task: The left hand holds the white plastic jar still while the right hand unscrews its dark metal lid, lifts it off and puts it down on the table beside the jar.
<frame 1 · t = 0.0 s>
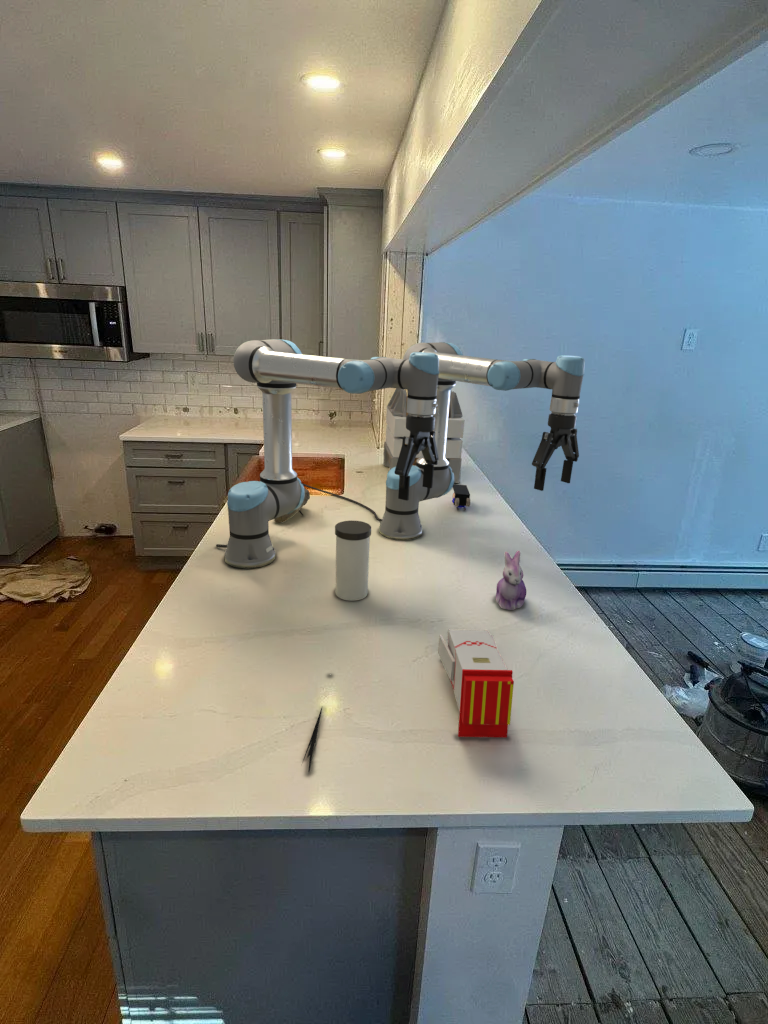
left hand: (415, 493, 153), 28 cm above the counter, tool pointing down, fingers open, 13 cm apart
right hand: (552, 485, 166), 28 cm above the counter, tool pointing down, fingers open, 13 cm apart
figurine character: (459, 506, 231), on the counter
jar: (351, 592, 157), on the counter
light grey slatted crate: (419, 473, 275), on the counter
fossil: (292, 515, 213), on the counter
figurine: (510, 603, 156), on the counter
feather: (319, 719, 109), on the counter
toy: (469, 691, 119), on the counter
lid: (353, 528, 151), point 19 cm above the counter, screwed on, not yet turned
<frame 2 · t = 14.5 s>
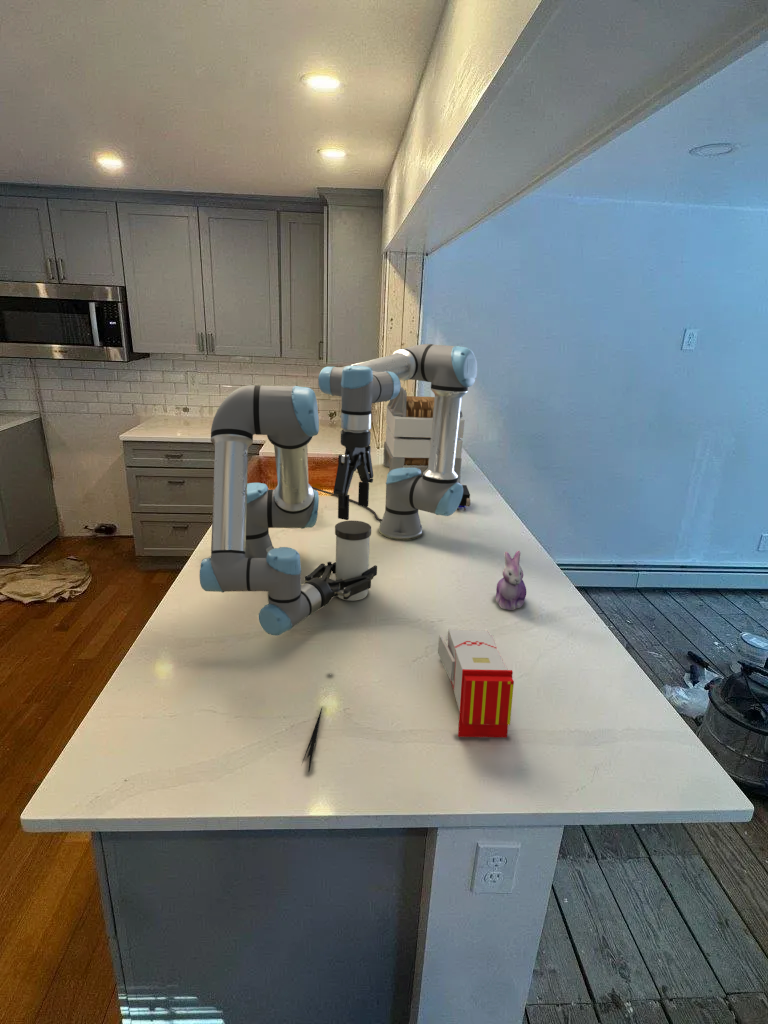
left hand: (361, 565, 159), 7 cm above the counter, tool horizontal, fingers closed on jar, 9 cm apart
right hand: (353, 512, 149), 24 cm above the counter, tool pointing down, fingers open, 11 cm apart
jar: (351, 592, 157), on the counter, touching left hand
everything else where it was.
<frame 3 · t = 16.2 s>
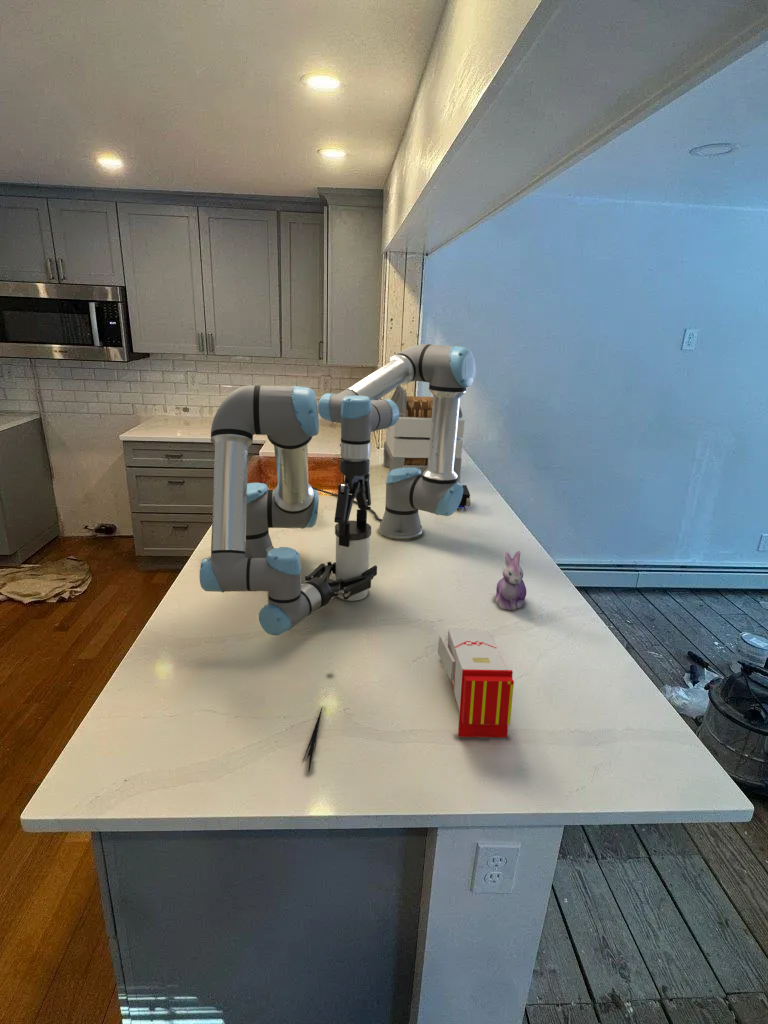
left hand: (361, 565, 159), 7 cm above the counter, tool horizontal, fingers closed on jar, 9 cm apart
right hand: (352, 539, 152), 16 cm above the counter, tool pointing down, fingers closed on lid, 10 cm apart
jar: (351, 592, 157), on the counter, touching left hand
lid: (353, 528, 151), point 19 cm above the counter, screwed on, not yet turned, touching right hand
everything else where it was.
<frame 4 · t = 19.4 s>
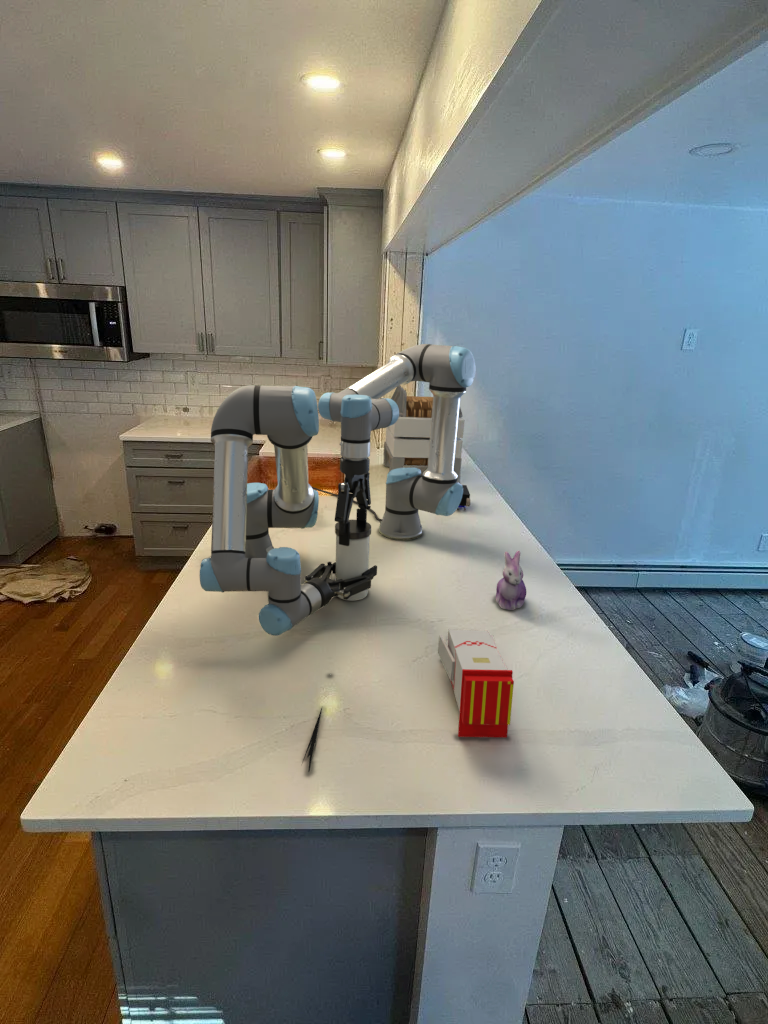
left hand: (361, 565, 159), 7 cm above the counter, tool horizontal, fingers closed on jar, 9 cm apart
right hand: (352, 538, 152), 16 cm above the counter, tool pointing down, fingers closed on lid, 10 cm apart
jar: (351, 592, 157), on the counter, touching left hand
lid: (353, 527, 151), point 20 cm above the counter, turned 101° so far, risen 0.3 cm, still on its thread, touching right hand
everything else where it was.
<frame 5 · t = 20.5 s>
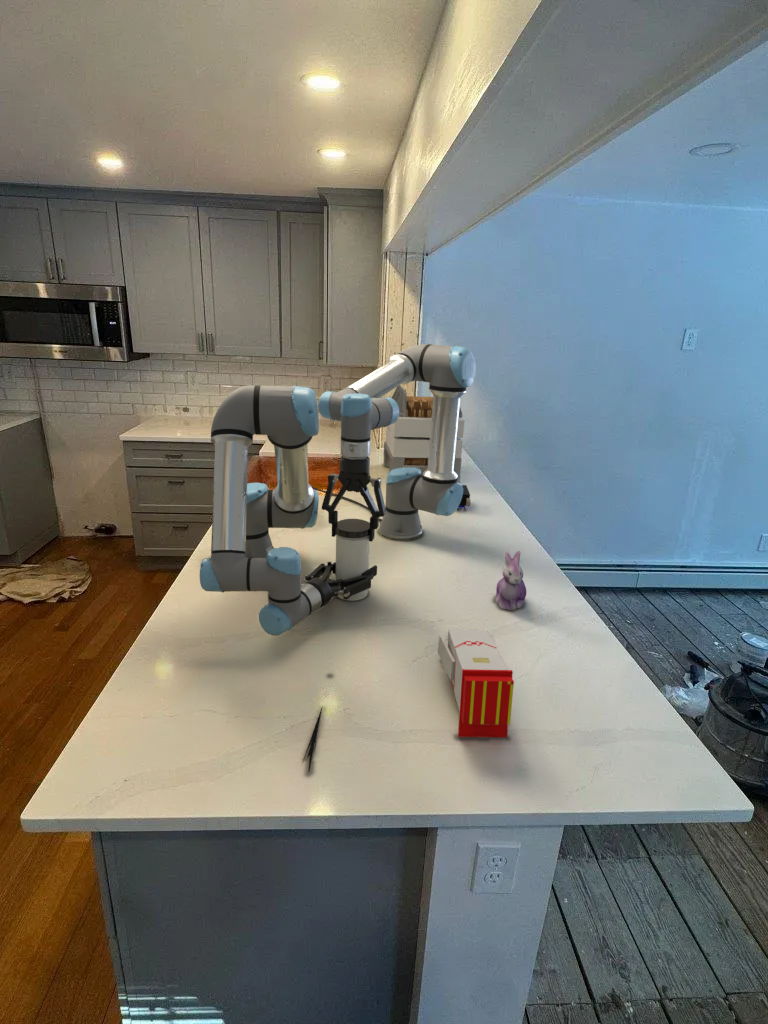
left hand: (361, 565, 159), 7 cm above the counter, tool horizontal, fingers closed on jar, 9 cm apart
right hand: (353, 537, 152), 17 cm above the counter, tool pointing down, fingers closed on lid, 10 cm apart
jar: (351, 592, 157), on the counter, touching left hand
lid: (353, 526, 151), point 20 cm above the counter, off its thread, touching right hand
everything else where it was.
when the right hand's fingers open (0 cm above the counter, at t = 26.7 s): lid drops 2 cm, point 1 cm above the counter.
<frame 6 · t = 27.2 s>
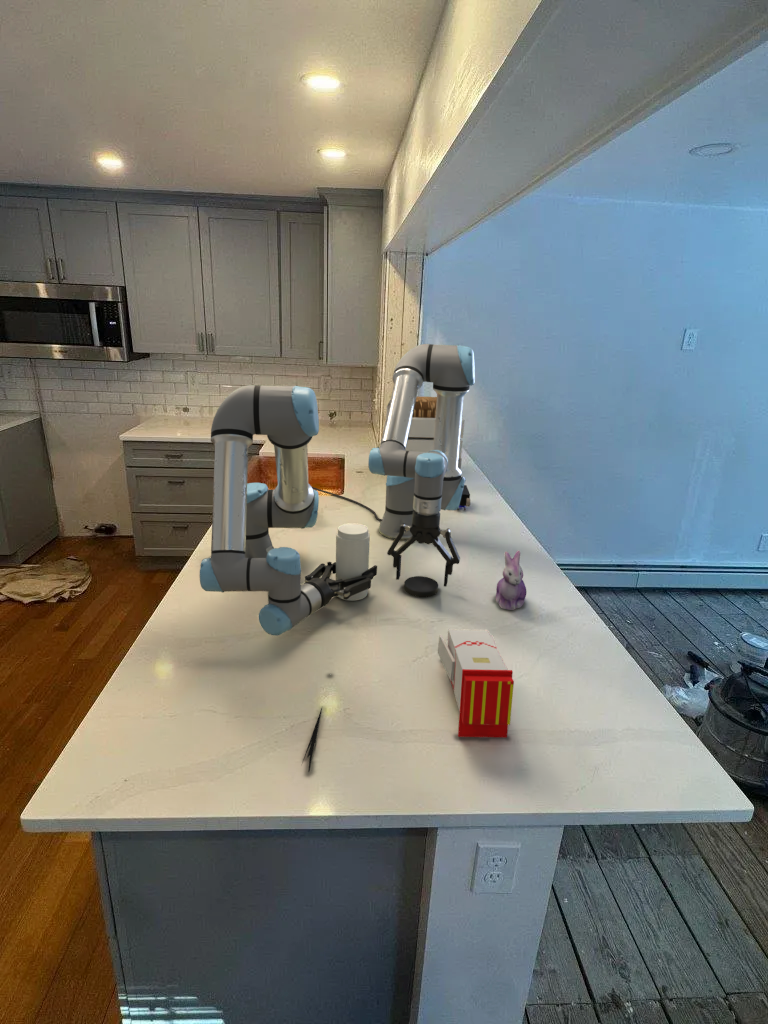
left hand: (361, 565, 159), 7 cm above the counter, tool horizontal, fingers closed on jar, 9 cm apart
right hand: (421, 580, 161), 2 cm above the counter, tool pointing down, fingers open, 13 cm apart
jar: (351, 592, 157), on the counter, touching left hand
lid: (421, 584, 160), point 1 cm above the counter, off its thread
everything else where it was.
when the left hand's fingers open (7 cm above the counter, at t = 27.7 s): jar stays where it is, on the counter.
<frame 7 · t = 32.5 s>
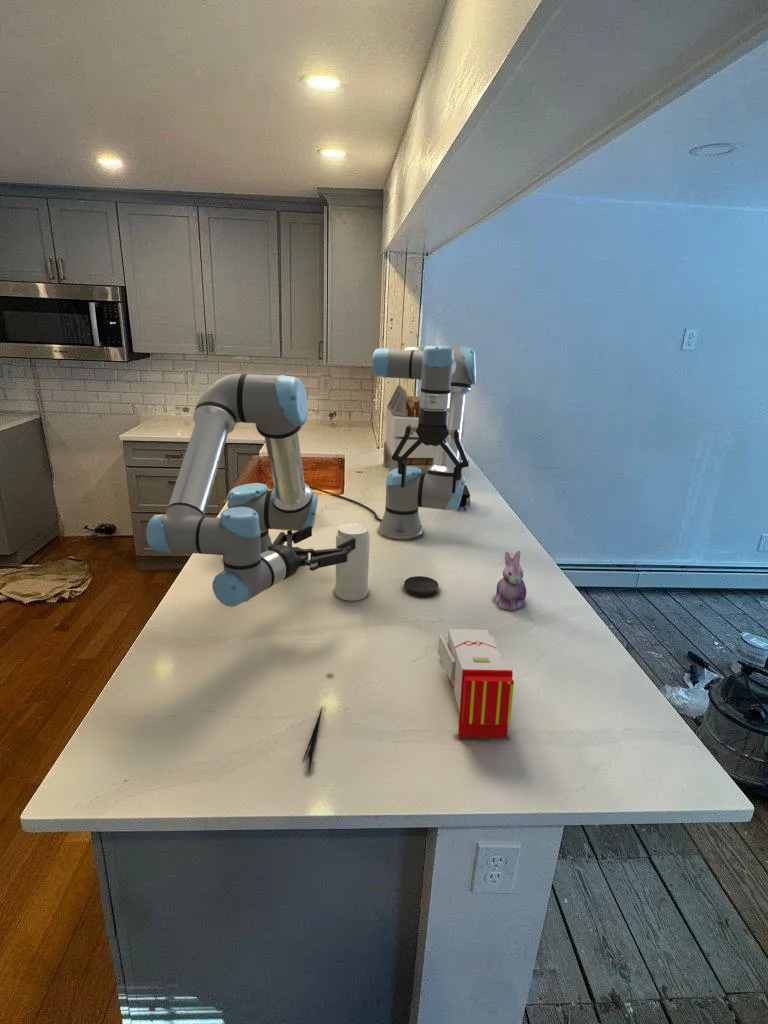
left hand: (332, 536, 143), 20 cm above the counter, tool horizontal, fingers open, 13 cm apart
right hand: (428, 488, 151), 30 cm above the counter, tool pointing down, fingers open, 13 cm apart
jar: (351, 592, 157), on the counter
everything else where it was.
at the end: lid came off its thread; lid point 1.5 cm above the counter; the left hand is holding nothing; the right hand is holding nothing; jar tilted 0°; jar moved 0.0 cm from its start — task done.
